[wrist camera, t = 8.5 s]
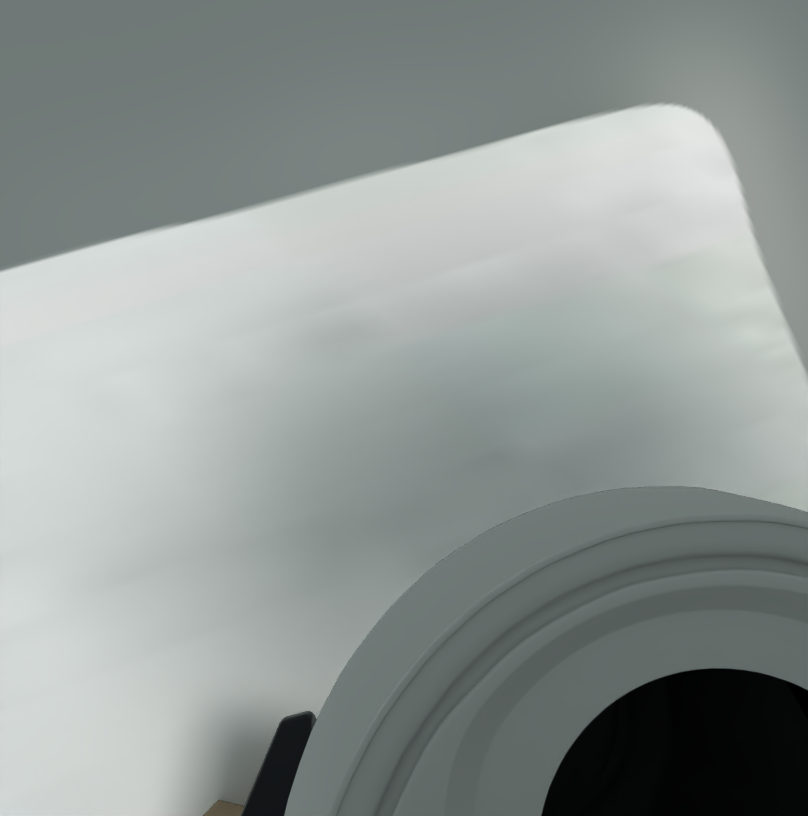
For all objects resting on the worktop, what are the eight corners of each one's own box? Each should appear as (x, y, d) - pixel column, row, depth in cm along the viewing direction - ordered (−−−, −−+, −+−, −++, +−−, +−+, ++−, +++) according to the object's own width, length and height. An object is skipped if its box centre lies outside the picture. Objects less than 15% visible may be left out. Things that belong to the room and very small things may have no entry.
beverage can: (599, 522, 16) (1034, 334, 5) (708, 814, 15) (1817, 1657, 3) (340, 601, 16) (118, 609, 4) (420, 909, 14) (406, 2279, 3)
